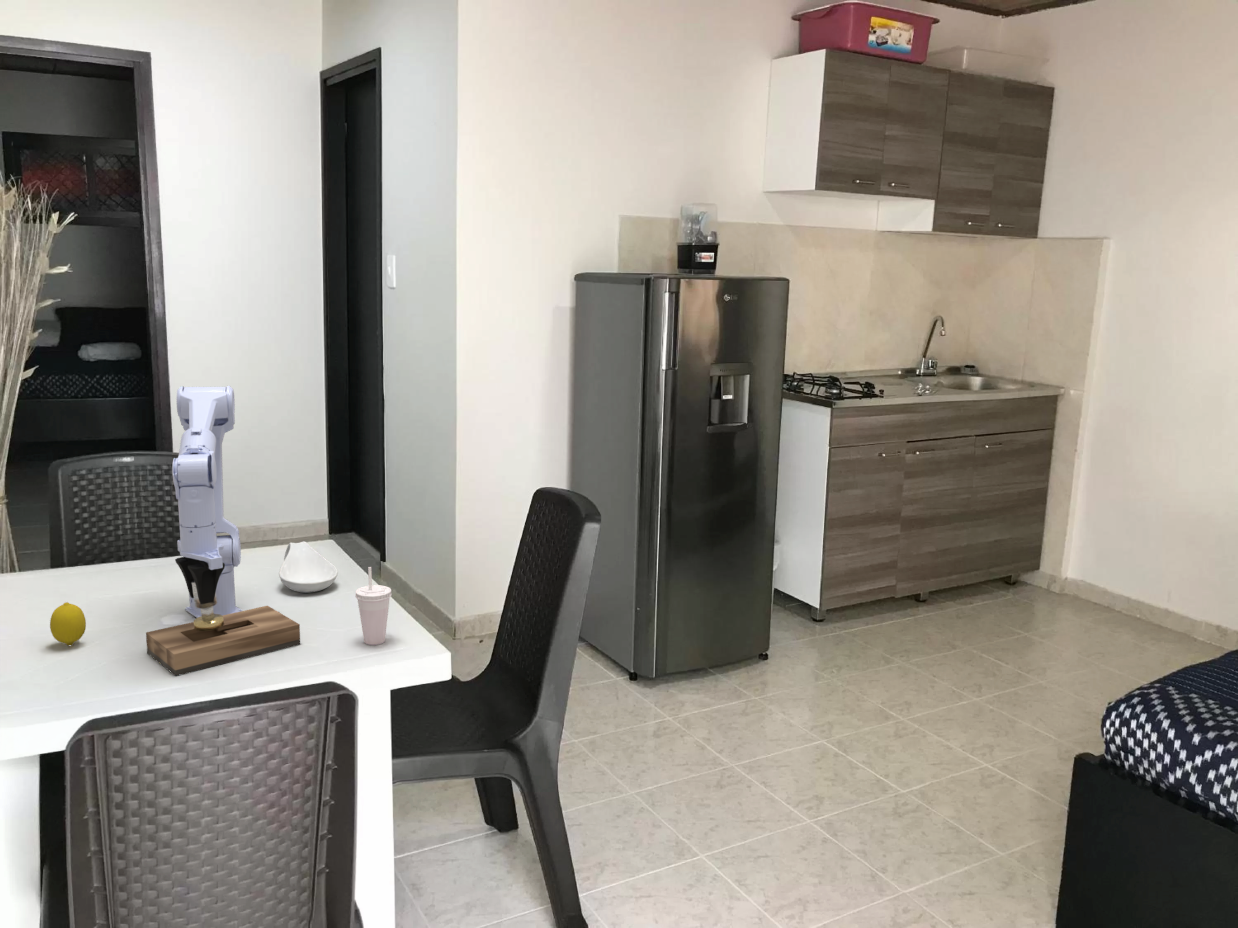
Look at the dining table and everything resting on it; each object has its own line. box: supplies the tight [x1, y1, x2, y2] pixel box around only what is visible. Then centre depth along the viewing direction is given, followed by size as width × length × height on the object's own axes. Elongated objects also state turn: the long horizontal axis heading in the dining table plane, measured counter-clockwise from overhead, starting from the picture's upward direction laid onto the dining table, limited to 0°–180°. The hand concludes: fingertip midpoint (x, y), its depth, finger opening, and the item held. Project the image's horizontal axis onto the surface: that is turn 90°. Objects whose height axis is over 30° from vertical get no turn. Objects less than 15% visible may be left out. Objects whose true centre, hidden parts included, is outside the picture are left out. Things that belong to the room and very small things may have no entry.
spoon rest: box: [278, 540, 339, 594], centre depth 218 cm, size 24×12×7 cm, turn 28°
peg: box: [192, 580, 224, 631], centre depth 177 cm, size 5×5×8 cm
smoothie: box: [355, 566, 392, 646], centre depth 184 cm, size 6×6×14 cm
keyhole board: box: [145, 605, 301, 676], centre depth 180 cm, size 13×22×4 cm, turn 133°
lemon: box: [49, 601, 87, 646], centre depth 179 cm, size 6×6×8 cm
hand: (202, 599), depth 176 cm, fingers closed on peg, 4 cm apart
